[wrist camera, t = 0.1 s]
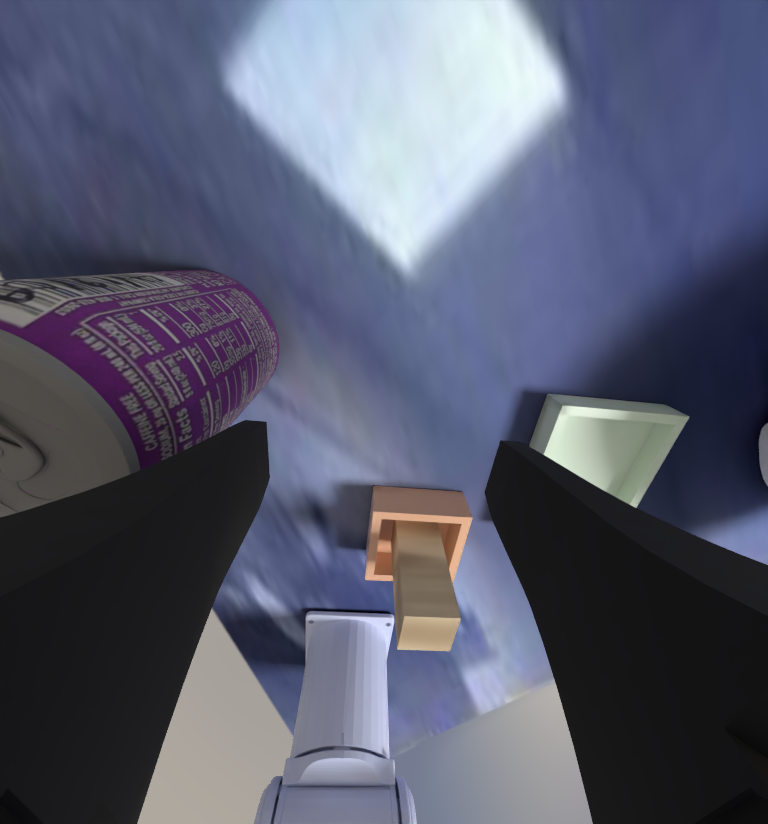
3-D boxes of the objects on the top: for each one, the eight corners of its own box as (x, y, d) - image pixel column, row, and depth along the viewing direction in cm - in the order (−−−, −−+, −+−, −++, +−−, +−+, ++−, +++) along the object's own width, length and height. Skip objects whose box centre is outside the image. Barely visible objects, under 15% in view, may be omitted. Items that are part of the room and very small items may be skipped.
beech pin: (428, 543, 25) (449, 651, 18) (390, 541, 24) (397, 649, 18) (435, 514, 23) (460, 618, 17) (395, 512, 23) (404, 616, 16)
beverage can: (125, 326, 18) (-274, 433, 7) (210, 237, 16) (-147, 189, 5) (226, 416, 20) (54, 598, 9) (308, 348, 18) (215, 475, 8)
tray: (597, 529, 25) (613, 547, 24) (501, 523, 25) (510, 541, 23) (664, 404, 21) (689, 416, 19) (547, 393, 20) (562, 405, 18)
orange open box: (445, 554, 26) (452, 583, 24) (365, 550, 26) (364, 579, 23) (462, 491, 23) (472, 517, 21) (373, 485, 23) (373, 511, 20)
